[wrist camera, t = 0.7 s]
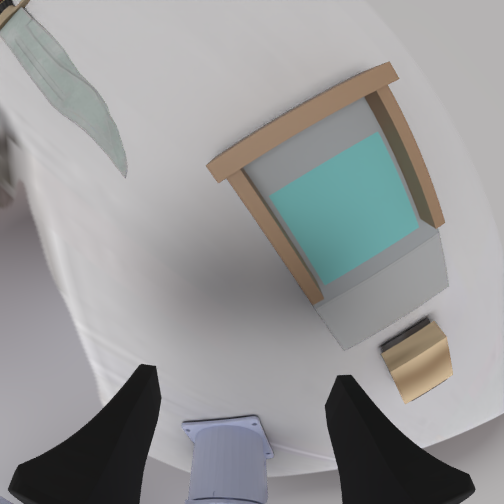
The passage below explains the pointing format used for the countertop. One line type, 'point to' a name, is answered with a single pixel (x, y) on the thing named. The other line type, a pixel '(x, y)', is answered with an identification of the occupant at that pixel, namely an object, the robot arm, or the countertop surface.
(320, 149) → the dock
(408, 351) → the tan cardboard box
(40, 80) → the knife
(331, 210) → the bay pad
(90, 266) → the countertop surface
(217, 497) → the robot arm
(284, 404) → the countertop surface
